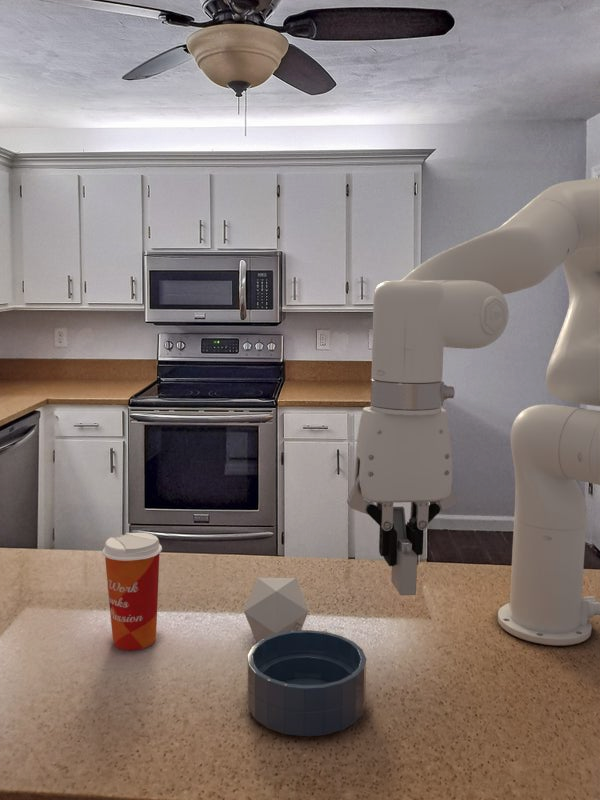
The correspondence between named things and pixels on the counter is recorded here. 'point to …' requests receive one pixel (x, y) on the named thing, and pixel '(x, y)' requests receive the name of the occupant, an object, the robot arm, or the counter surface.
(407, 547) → the lighter
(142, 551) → the paper cup
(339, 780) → the counter surface
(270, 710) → the bowl
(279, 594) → the grey polyhedron
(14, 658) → the counter surface
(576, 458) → the robot arm
